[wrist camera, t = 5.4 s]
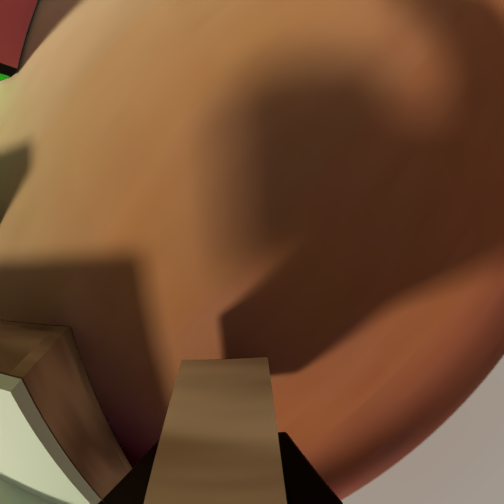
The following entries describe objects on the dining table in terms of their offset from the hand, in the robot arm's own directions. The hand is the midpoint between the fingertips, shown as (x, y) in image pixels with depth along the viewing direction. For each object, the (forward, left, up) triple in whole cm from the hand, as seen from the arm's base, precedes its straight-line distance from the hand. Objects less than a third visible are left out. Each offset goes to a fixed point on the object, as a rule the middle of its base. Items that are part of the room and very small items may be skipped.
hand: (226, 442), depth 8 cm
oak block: (0, 0, -2) cm, 3 cm away
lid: (-4, +12, 0) cm, 13 cm away
